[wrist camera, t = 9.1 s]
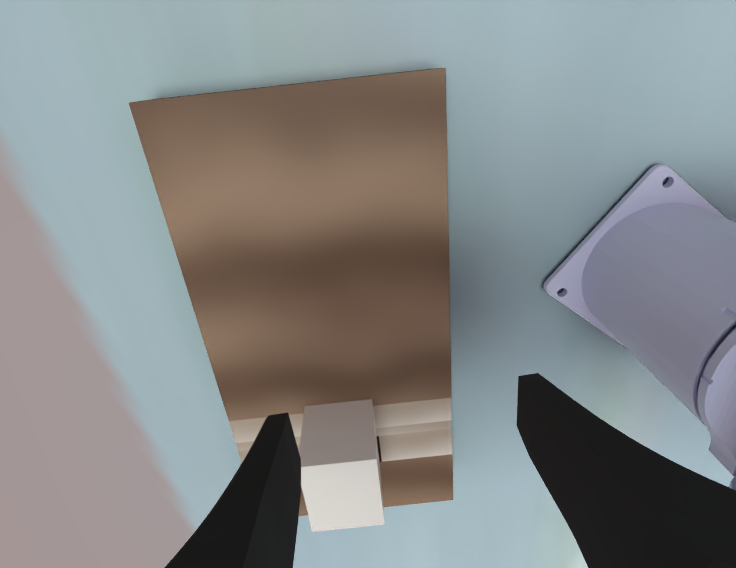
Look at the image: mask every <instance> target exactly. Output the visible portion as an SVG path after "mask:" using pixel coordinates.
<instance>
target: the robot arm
mask: <svg viewBox="0 0 736 568" xmlns="http://www.w3.org/2000/svg"><path fill="white" fill-rule="evenodd" d="M667 177H668V181H667V183H666V184H665V185H662V184H663V181H664V179H665V178H667ZM543 287H544V290H545V291H546V292H547V293H548V295H550V296H551V297H553V298H554V299H556V300H557V301H559V302H560V303H562V304H563V305H564V306H566V307H567V308H569V309H570V310H572V311H573V312H575V313H576V314H578V315H579V316H581V317H582V318H583V319H585V320H586V321H588V322H589V323H591V324H592V325H594V326H595V327H597V328H598V329H600V330H601V331H602V332H604V333H605V334H607V335H608V336H610V337H611V338H613V339H614V340H616V341H617V342H619V343H620V344H621V345H623V346H624V347H626V348H627V349H628V350H629V351H630V352H631V353H632V354H633V355H634V356H635V357H636V358H637V359H638V360H639V361H640V362H641V363H642V364H643V365H644V366H645V367H646V368H647V369H648V370H649V371H650V372H651V373H652V374H653V375H654V376H655V377H656V378H657V379H658V380H659V381H660V382H661V383H662V384H663V385H664V386H665V387H666V388H667V389H669V390H670V391H671V392H672V393H673V394H674V395H675V396H676V397H677V398H678V399H679V400H680V401H681V402H682V403H683V404H684V405H685V406H686V407H687V408H688V409H689V410H690V411H691V412H692V413H693V414H694V415H695V416H696V417H697V418H698V419H699V420H700V421H701V422H702V423H703V424H704V425H705V426H706V427H707V429H708V430H709V432H710V435H711V443H710V447H709V451H710V452H711V453H712V454H713V455H714V456H715V457H716V458H717V459H718V460H719V461H720V463H721V464H722V465H723V466H724V467H725V468H726V469H727V470H728V471H729V472H730V473H731V474H732V475H733V476H734V478H733V479H732V481H731V483H730V485H729V487H727V486H724V485H722V484H720V483H717V482H715V481H713V480H710V479H708V478H706V477H704V476H702V475H700V474H698V473H695V472H693V471H691V470H689V469H687V468H685V467H683V466H681V465H679V464H677V463H675V462H673V461H671V460H669V459H667V458H665V457H663V456H661V455H660V454H658V453H656V452H654V451H652V450H650V449H649V448H647V447H645V446H643V445H641V444H640V443H638V442H636V441H635V440H633V439H631V438H630V437H628V436H626V435H625V434H623V433H622V432H620V431H618V430H617V429H615V428H614V427H612V426H611V425H609V424H607V423H606V422H604V421H603V420H601V419H600V418H598V417H597V416H596V415H594V414H593V413H591V412H590V411H588V410H587V409H586V408H584V407H583V406H581V405H580V404H579V403H577V402H576V401H574V400H573V399H572V398H570V397H569V396H568V395H566V394H565V393H564V392H562V391H561V390H560V389H558V388H557V387H556V386H554V385H553V384H552V383H550V382H549V381H548V380H546V379H545V378H544V377H542V376H541V375H540V374H538V373H536V374H530V375H523V376H519V379H518V406H517V427H518V430H519V432H520V435H521V437H522V440H523V442H524V445H525V447H526V449H527V452H528V454H529V456H530V458H531V460H532V462H533V464H534V465H535V467H536V469H537V471H538V473H539V474H540V476H541V478H542V480H543V481H544V483H545V485H546V487H547V488H548V490H549V492H550V494H551V495H552V497H553V499H554V501H555V503H556V504H557V506H558V508H559V510H560V511H561V513H562V515H563V517H564V518H565V520H566V522H567V524H568V526H569V527H570V529H571V531H572V533H573V535H574V537H575V539H576V541H577V543H578V546H579V548H580V550H581V552H582V554H583V557H584V559H585V561H586V563H587V565H588V568H736V222H734V221H731V220H728V219H726V218H725V217H724V216H723V215H722V214H721V213H720V212H719V211H717V210H716V209H715V208H714V207H713V206H712V205H711V204H710V203H709V202H707V201H706V200H705V199H704V198H703V197H702V196H701V195H700V194H699V193H697V192H696V191H695V190H694V189H693V188H692V187H691V186H690V185H689V184H687V183H686V182H685V181H684V180H683V179H682V178H681V177H680V176H679V175H677V174H676V173H675V172H674V171H673V170H672V169H671V168H670V167H668V166H666V165H663V164H657V165H654V166H653V167H651V168H650V169H649V170H648V171H647V172H646V173H645V175H644V176H643V177H642V178H641V179H640V180H639V181H638V182H637V183H636V184H635V185H634V186H633V187H632V189H631V190H630V191H629V192H628V193H627V194H626V195H625V196H624V197H623V198H622V199H621V200H620V201H619V203H618V204H617V205H616V206H615V207H614V208H613V209H612V210H611V211H610V212H609V213H608V214H607V215H606V216H605V218H604V219H603V220H602V221H601V222H600V223H599V224H598V225H597V226H596V227H595V228H594V229H593V230H592V232H591V233H590V234H589V235H588V236H587V237H586V238H585V239H584V240H583V241H582V242H581V243H580V244H579V246H578V247H577V248H576V249H575V250H574V251H573V252H572V253H571V254H570V255H569V256H568V257H567V258H566V259H565V261H564V262H563V263H562V264H561V265H560V266H559V267H558V268H557V269H556V270H555V271H554V272H553V273H552V275H551V276H550V277H549V278H548V279H547V280H546V281H545V283H544V286H543ZM561 288H564V290H563V292H561V293H558V294H557V292H558V290H560V289H561ZM300 498H301V458H300V454H299V451H298V447H297V443H296V440H295V436H294V432H293V428H292V425H291V421H290V417H289V414H288V412H287V413H281V414H274V415H268V417H267V418H266V419H265V421H264V423H263V425H262V427H261V429H260V431H259V433H258V435H257V437H256V439H255V441H254V443H253V444H252V446H251V448H250V450H249V452H248V453H247V455H246V457H245V459H244V460H243V462H242V464H241V465H240V467H239V469H238V471H237V472H236V474H235V476H234V477H233V479H232V480H231V482H230V483H229V485H228V486H227V488H226V489H225V491H224V492H223V494H222V496H221V497H220V499H219V500H218V502H217V503H216V504H215V506H214V507H213V509H212V510H211V511H210V513H209V514H208V516H207V517H206V518H205V520H204V521H203V522H202V523H201V525H200V526H199V527H198V529H197V530H196V531H195V533H194V534H193V535H192V536H191V537H190V539H189V540H188V541H187V542H186V543H185V545H184V546H183V547H182V548H181V549H180V551H179V552H178V553H177V554H176V555H175V556H174V558H173V559H172V560H171V561H170V562H169V563H168V564H167V566H166V567H165V568H293V560H294V551H295V542H296V534H297V525H298V516H299V507H300Z"/></svg>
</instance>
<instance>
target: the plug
mask: <svg viewBox="0 0 736 568" xmlns="http://www.w3.org/2000/svg"><path fill="white" fill-rule="evenodd" d="M299 454H300V458H301V487H302V491H303V495H304V499H305V503H306V508H307V512H308V516H309V520H310V524H311V529H312V532H317V531H326V530H336V529H345V528H355V527H364V526H374V525H383V524H385V522H384V510H383V498H382V486H381V474H380V462H379V453H378V445H377V436H376V428H375V420H374V412H373V403H372V399H368V400H359V401H349V402H340V403H330V404H321V405H312V406H305V408H304V416H303V424H302V431H301V439H300V447H299Z"/></svg>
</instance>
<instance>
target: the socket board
mask: <svg viewBox="0 0 736 568" xmlns="http://www.w3.org/2000/svg"><path fill="white" fill-rule="evenodd" d="M129 105H130V109H131V112H132V115H133V118H134V121H135V124H136V128H137V131H138V134H139V137H140V140H141V143H142V147H143V150H144V153H145V156H146V159H147V162H148V166H149V169H150V172H151V175H152V178H153V182H154V185H155V188H156V191H157V194H158V197H159V201H160V204H161V207H162V210H163V213H164V216H165V220H166V223H167V226H168V229H169V232H170V235H171V239H172V242H173V245H174V248H175V251H176V255H177V258H178V261H179V264H180V267H181V270H182V274H183V277H184V280H185V283H186V286H187V289H188V293H189V296H190V299H191V302H192V305H193V308H194V312H195V315H196V318H197V321H198V324H199V328H200V331H201V334H202V337H203V340H204V343H205V347H206V350H207V353H208V356H209V359H210V362H211V366H212V369H213V372H214V375H215V378H216V381H217V385H218V388H219V391H220V394H221V397H222V401H223V404H224V407H225V410H226V413H227V416H228V420H229V423H230V426H231V429H232V432H233V435H234V439H235V442H236V445H237V448H238V451H239V454H240V458H241V461H242V462H243V460H244V459H245V457H246V455H247V453H248V452H249V450H250V448H251V446H252V444H253V443H254V441H255V439H256V437H257V435H258V433H259V431H260V429H261V427H262V425H263V423H264V421H265V419H266V418H267V417H268V415H274V414H281V413H287V412H288V414H289V417H290V421H291V425H292V428H293V432H294V436H295V440H296V443H297V447H298V451H299V447H300V439H301V431H302V424H303V416H304V408H305V406H312V405H321V404H330V403H340V402H349V401H359V400H368V399H372V403H373V412H374V420H375V428H376V436H377V445H378V453H379V462H380V474H381V486H382V498H383V507H389V506H399V505H408V504H418V503H427V502H437V501H446V500H453V462H452V405H451V348H450V291H449V235H448V178H447V121H446V68H437V69H426V70H417V71H407V72H398V73H389V74H380V75H371V76H362V77H353V78H343V79H334V80H325V81H316V82H307V83H298V84H289V85H279V86H270V87H261V88H252V89H243V90H234V91H225V92H215V93H206V94H197V95H188V96H179V97H170V98H161V99H152V100H145V101H138V102H131V103H129ZM304 515H308V512H307V508H306V503H305V499H304V495H303V491H302V487H301V498H300V507H299V516H304Z"/></svg>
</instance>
